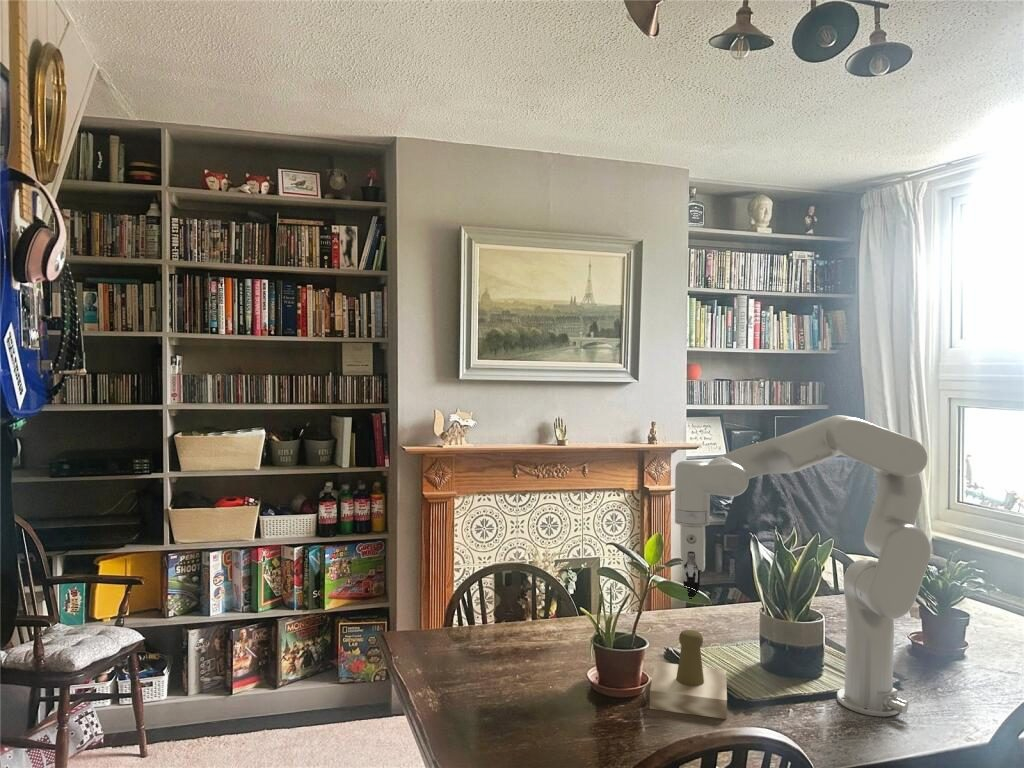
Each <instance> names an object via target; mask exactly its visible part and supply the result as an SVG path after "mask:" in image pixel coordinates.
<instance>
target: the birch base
mask: <svg viewBox="0 0 1024 768" xmlns="http://www.w3.org/2000/svg"><path fill="white" fill-rule="evenodd" d="M678 665H679V663H678V664H677V663H672V662H671V663H669V662H660V661H655V664H654V668H653V669H654V670H653V674H652V679H651V683H650V689H649V709H651V710H657V711H658V710H659V711H664V712H673V713H678V714H679V713H680V714H687V715H694V716H702V717H709V718H717V719H723V720H727V717H728V693H727V692H728V691H727V685H728V684H727V669H720V668H712V667H705V666H704V667H703V666H702V668H703V677H704V683H703V684H702V685H700V686H687V685H684V684H681V683H679V682H678V681H677V679H676V677H677V671H678Z"/></svg>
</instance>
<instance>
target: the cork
mask: <svg viewBox="0 0 1024 768" xmlns="http://www.w3.org/2000/svg"><path fill="white" fill-rule="evenodd" d="M678 640H679V642H678V643H679V644H680V645H681V647H680V652H679V653H680V654H679V660H678V664H679V665H678V671H677V677H676V679H677V681H678V682H679V683H681V684H684V685H687V686H700V685H702V684H703V683H704V677H703V668H702V667H703V661H702V659H703V658H702V651H701V648H702V646H703V642H704V637H703V635H702V633H701V632H699V631H698V630H694V629H684V630H682V631H681V632H680V633H679V637H678Z"/></svg>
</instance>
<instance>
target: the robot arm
mask: <svg viewBox="0 0 1024 768" xmlns="http://www.w3.org/2000/svg"><path fill="white" fill-rule="evenodd" d="M838 456H844V457H847V458H849V459H852V460H853V461H857V462H860V463H861V464H864V465H867V466H869V467H871V468H872V469H873V470H874V473H875V474H876V477H877V482H878V483H877V485H878V486H877V487H878V488H877V493H876V497H875V500H874V504H873V506H872V510H871V512H870V515H869V519H868V521H867V524H866V526H865V531H864V534H863V542H864V545H865V546H866V548H867V549H868V550H869V551H870V553H872V554H874V555H875V556H876V557H878V559H877V561H875V560H873V559H872V560H871V559H859V560H856V561H854V562H852V563H851V564H849V566H848V567H847V568H846V570H845V573H844V576H843V581H842V582H843V593H844V594H843V595H844V602H845V615H846V616H845V628H846V629H845V659H844V664H845V665H844V687H842V688H840V689H838V690H837V692H836V699H837V701H838V702H839V704H840V705H842V706H844V707H845V708H846V709H849V710H851V711H853V712H856V713H857V714H858V713H859V714H863V715H866V716H872V717H882V718H883V717H893V716H895V715H897V714H899V713H900V714H902V715H906V714H907V712H908V708H909V701H907V700H904V698H903V699H902V698H899V696H898V689H896V688H895V687H894V650H895V649H894V646H895V645H894V644H895V643H894V639H895V621H894V620H898V619H900V618H902V617H904V616H906V615H907V614H908V613H909V612H910V611H911V609H912V608H913V606H914V604H915V602H916V600H917V598H918V594H919V592H920V589H921V585H922V584H923V580H924V577H925V574H926V571H927V568H928V566H929V561H930V557H931V544H930V541H929V538H928V536H927V534H926V533H925V532H924V531H923V530H922V529H921V528H920V527H918V526H917V525H915V524H916V520H917V517H918V513H919V510H920V505H921V500H922V495H923V490H922V489H923V486H922V480H921V478H920V474H921V473H922V472H923V471H924V469H926V466H927V464H928V453H927V451H926V448H925V447H924V445H923V444H922V443H921V442H919V441H918V440H916V439H914V438H912V437H910V436H907V435H904V434H901V433H898V432H896V431H892V430H890V429H888V428H884V427H882V426H879V425H877V424H874V423H871V422H869V421H867V420H864V419H860V417H859V418H858V417H854V416H853V417H852V416H848V415H841V414H840V415H839V414H838V415H832V416H829V417H826V418H823V419H820V420H818V421H815V422H812V423H811V424H808V425H805V426H802V427H800V428H798V429H795V430H792V431H790V432H787V433H784V434H781V435H779V436H775V437H771V438H769V439H766V440H762V441H760V442H756V443H752V444H748V445H746V446H742V447H740V448H737V449H735V450H732V451H729V452H727V453H723V454H721V455H719V456H717V457H714V458H713V459H712V460H710V461H709V462H708V463H707V462H705V461H701V460H681V461H678V462H677V463H676V465H675V470H674V471H675V474H674V482H675V483H674V485H675V487H674V489H675V490H674V493H675V494H674V496H675V497H674V502H675V503H674V522H675V523H674V524H676V525H679V526H680V527H679V529H680V530H679V531H680V532H679V533H680V534H679V535H680V538H679V539H680V559H681V560H683V561H684V562H683V561H681V560H680V562H681V569H682V570H683V571H684V580H683V581H682V582H683V585H684V586H687V587H690V588H687V589H688V590H687V591H688V592H689V593H688V596H689V597H694V596H695V595H696V593H698V592H699V591H700V590H699V588H700V585H701V584H700V581H701V578H700V577H701V575H700V574H701V572H702V573H703V572H704V571H705V570H706V527H707V526H709V525H710V524H711V523H710V522H711V521H710V520H711V519H710V517H711V516H710V515H711V513H710V511H711V510H710V508H711V504H710V503H711V495H714V496H721V497H729V498H731V497H732V498H733V497H738V496H740V495H742V494H743V493H745V491H746V490H747V488H749V487H748V486H749V483H750V479H753V478H756V477H760V476H764V475H773V474H792V473H797V472H800V471H802V470H805V469H808V468H810V467H813V466H815V465H818V464H821V463H822V462H825V461H829V460H831V459H834V458H837V457H838ZM684 588H686V587H684ZM691 588H693V589H695V590H696V591H695V590H693V589H691ZM689 590H690V591H689ZM697 591H698V592H697ZM695 592H696V593H695ZM698 594H699V593H698ZM699 595H700V594H699ZM689 599H692V598H689Z"/></svg>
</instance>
